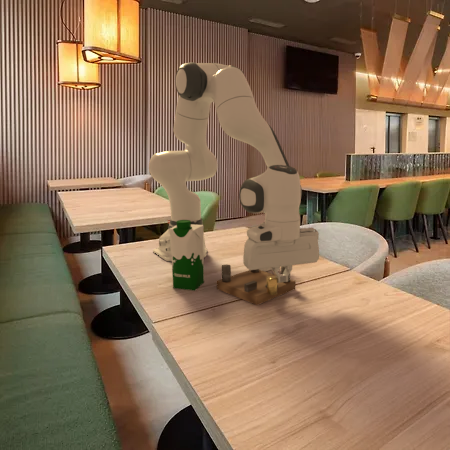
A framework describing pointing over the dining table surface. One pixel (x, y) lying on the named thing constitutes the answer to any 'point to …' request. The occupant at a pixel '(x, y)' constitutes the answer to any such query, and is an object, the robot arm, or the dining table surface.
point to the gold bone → (271, 285)
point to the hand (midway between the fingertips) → (281, 281)
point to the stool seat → (251, 285)
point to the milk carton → (187, 255)
